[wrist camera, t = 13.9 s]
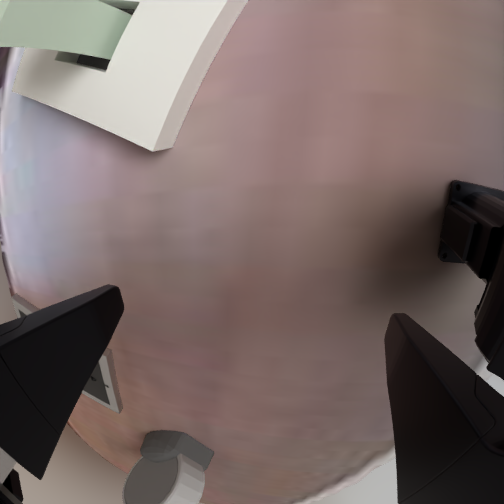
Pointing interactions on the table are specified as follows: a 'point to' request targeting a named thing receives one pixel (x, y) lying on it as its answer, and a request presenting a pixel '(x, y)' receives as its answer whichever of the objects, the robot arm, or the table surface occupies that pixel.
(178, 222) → the table surface
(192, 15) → the slotted board
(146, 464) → the alarm clock
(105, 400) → the picture frame
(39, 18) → the pale green block
